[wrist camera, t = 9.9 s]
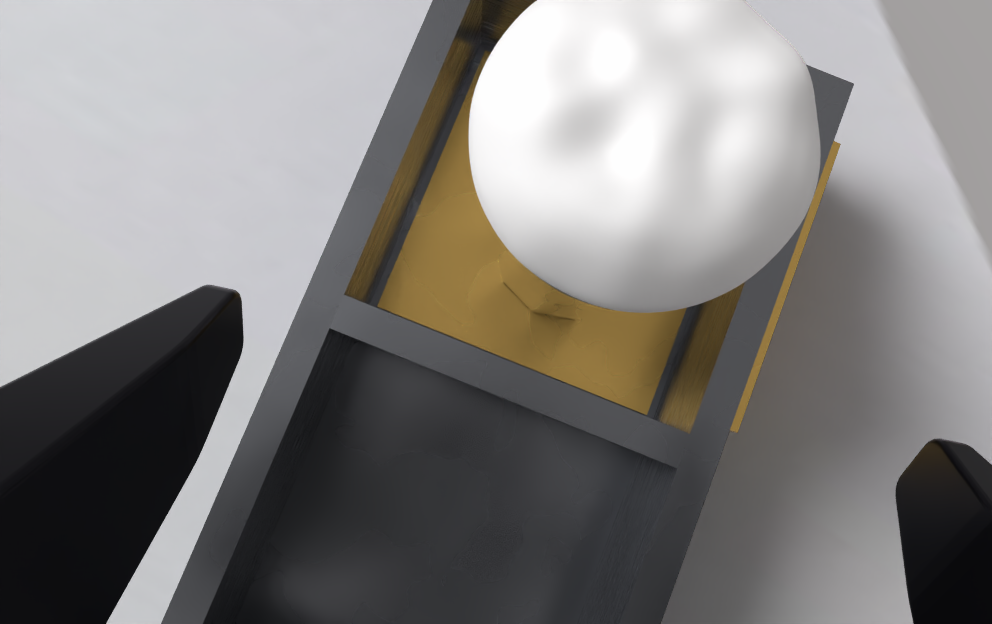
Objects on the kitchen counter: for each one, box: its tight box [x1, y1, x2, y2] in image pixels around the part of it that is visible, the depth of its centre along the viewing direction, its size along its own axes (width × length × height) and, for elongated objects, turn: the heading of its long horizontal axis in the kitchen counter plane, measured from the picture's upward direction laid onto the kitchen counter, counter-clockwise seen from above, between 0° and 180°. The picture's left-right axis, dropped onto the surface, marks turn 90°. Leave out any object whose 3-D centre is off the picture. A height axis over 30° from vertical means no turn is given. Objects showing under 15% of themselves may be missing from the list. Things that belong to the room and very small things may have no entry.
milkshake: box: [469, 0, 820, 320], centre depth 13 cm, size 5×5×10 cm
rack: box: [161, 0, 854, 624], centre depth 16 cm, size 24×9×4 cm, turn 158°
